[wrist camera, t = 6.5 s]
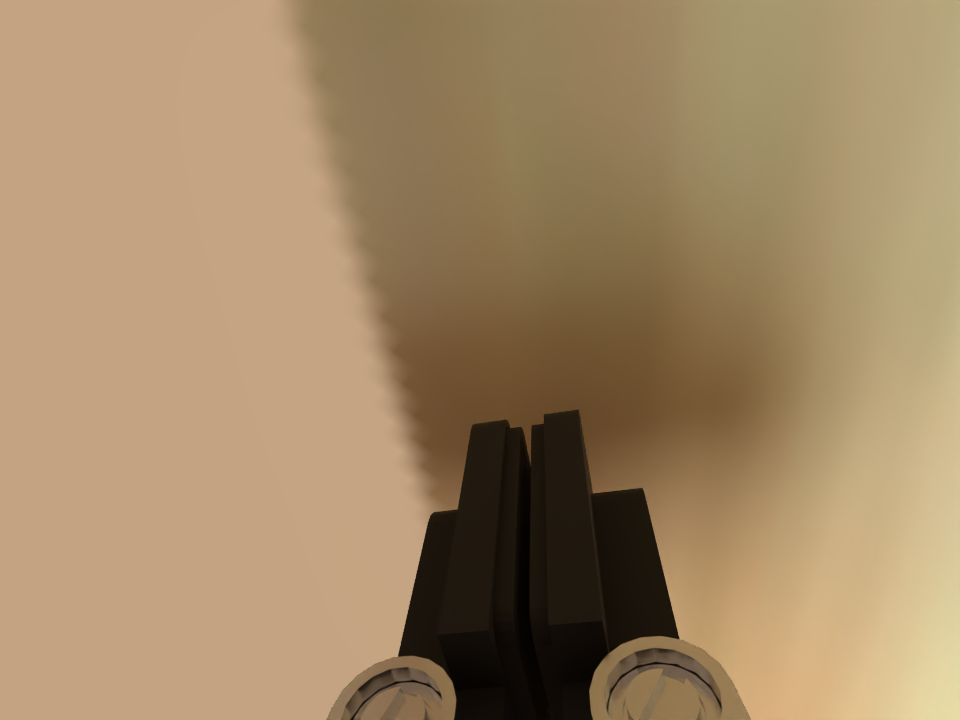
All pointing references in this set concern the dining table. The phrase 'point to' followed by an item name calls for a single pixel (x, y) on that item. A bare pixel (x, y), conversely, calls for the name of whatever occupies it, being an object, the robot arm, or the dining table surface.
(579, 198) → the dining table surface
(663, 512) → the dining table surface
